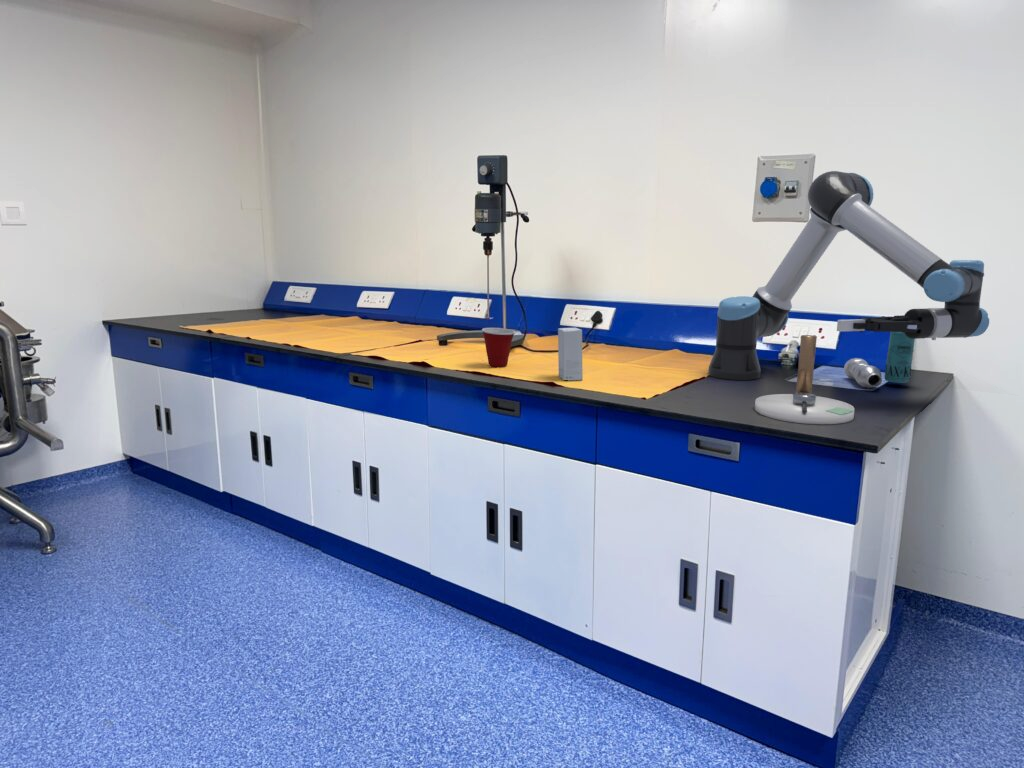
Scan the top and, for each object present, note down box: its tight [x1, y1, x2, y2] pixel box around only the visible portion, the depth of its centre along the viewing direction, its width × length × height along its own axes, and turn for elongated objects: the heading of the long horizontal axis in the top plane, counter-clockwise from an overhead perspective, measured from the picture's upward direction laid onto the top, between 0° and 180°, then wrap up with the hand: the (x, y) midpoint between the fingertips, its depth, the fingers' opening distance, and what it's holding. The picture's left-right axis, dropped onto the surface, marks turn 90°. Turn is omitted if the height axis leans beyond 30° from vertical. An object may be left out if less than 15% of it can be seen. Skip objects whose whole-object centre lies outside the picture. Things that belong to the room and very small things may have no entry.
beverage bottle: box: [883, 314, 915, 384], centre depth 196 cm, size 6×7×20 cm
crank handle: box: [792, 334, 818, 412], centre depth 166 cm, size 21×5×15 cm, turn 158°
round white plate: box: [754, 393, 855, 425], centre depth 168 cm, size 22×22×2 cm
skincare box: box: [557, 327, 584, 381], centre depth 206 cm, size 8×6×15 cm
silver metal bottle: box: [843, 357, 883, 389], centre depth 199 cm, size 6×7×20 cm
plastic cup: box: [481, 327, 516, 368], centre depth 225 cm, size 11×11×12 cm
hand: (839, 325), depth 173 cm, fingers closed
